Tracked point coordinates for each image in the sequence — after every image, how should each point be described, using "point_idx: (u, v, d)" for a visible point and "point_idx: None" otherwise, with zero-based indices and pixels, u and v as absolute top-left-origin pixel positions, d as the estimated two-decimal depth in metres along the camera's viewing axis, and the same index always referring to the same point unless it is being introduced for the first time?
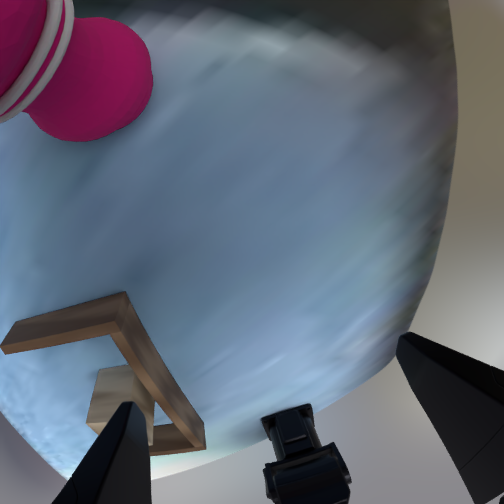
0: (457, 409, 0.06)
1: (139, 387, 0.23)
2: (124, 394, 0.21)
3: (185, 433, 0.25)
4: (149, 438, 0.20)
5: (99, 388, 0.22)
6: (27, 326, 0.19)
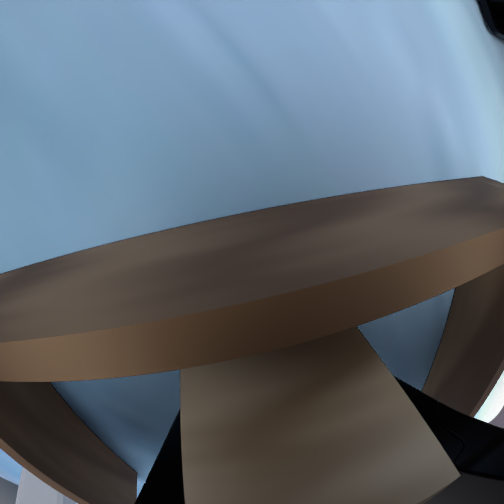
0: None
1: None
2: None
3: (502, 254, 0.05)
4: (422, 478, 0.03)
5: None
6: None
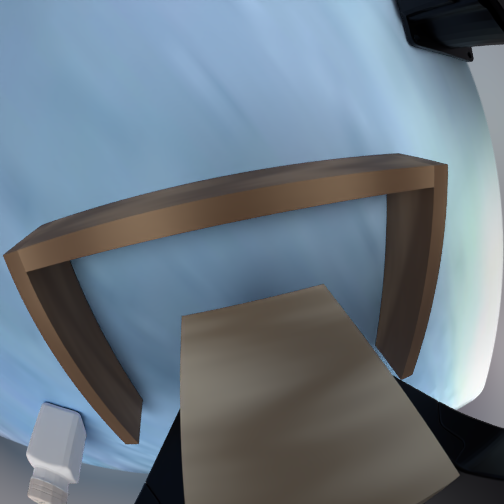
0: None
1: (232, 355, 0.07)
2: None
3: (374, 189, 0.10)
4: (421, 478, 0.03)
5: None
6: None
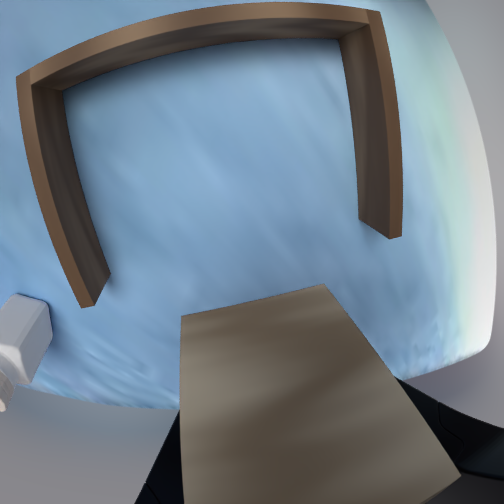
0: None
1: (232, 354, 0.07)
2: None
3: (310, 13, 0.10)
4: (422, 479, 0.03)
5: None
6: None
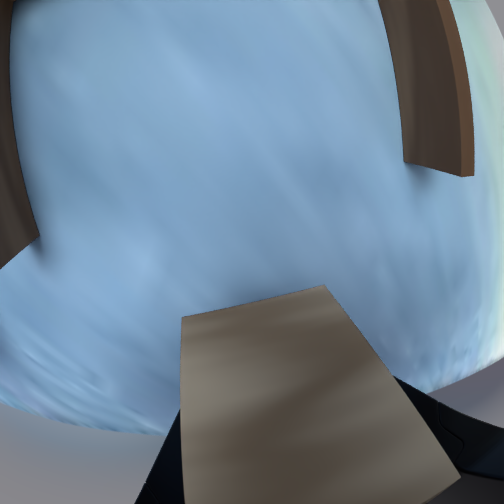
0: None
1: (232, 356, 0.07)
2: None
3: None
4: (422, 480, 0.03)
5: None
6: None
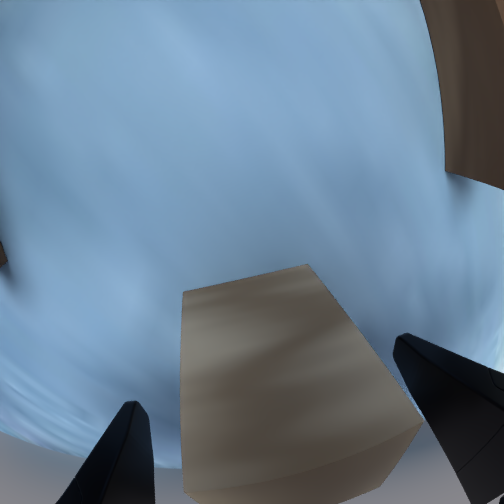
0: (454, 411, 0.06)
1: (225, 319, 0.08)
2: None
3: None
4: (387, 420, 0.04)
5: None
6: None
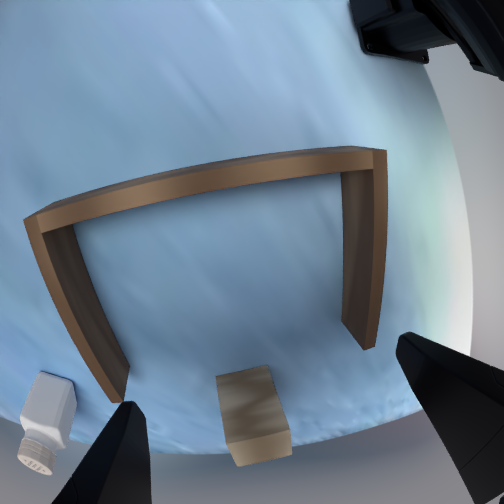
0: (457, 409, 0.06)
1: (234, 390, 0.21)
2: None
3: (315, 169, 0.14)
4: (279, 427, 0.17)
5: None
6: None
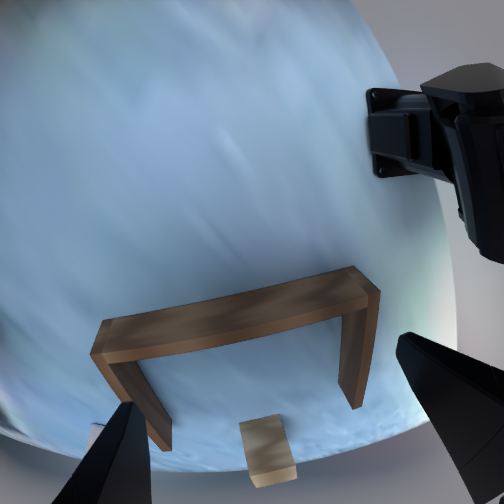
0: (457, 409, 0.06)
1: (254, 435, 0.26)
2: None
3: (321, 317, 0.18)
4: (288, 464, 0.22)
5: None
6: None
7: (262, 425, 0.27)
